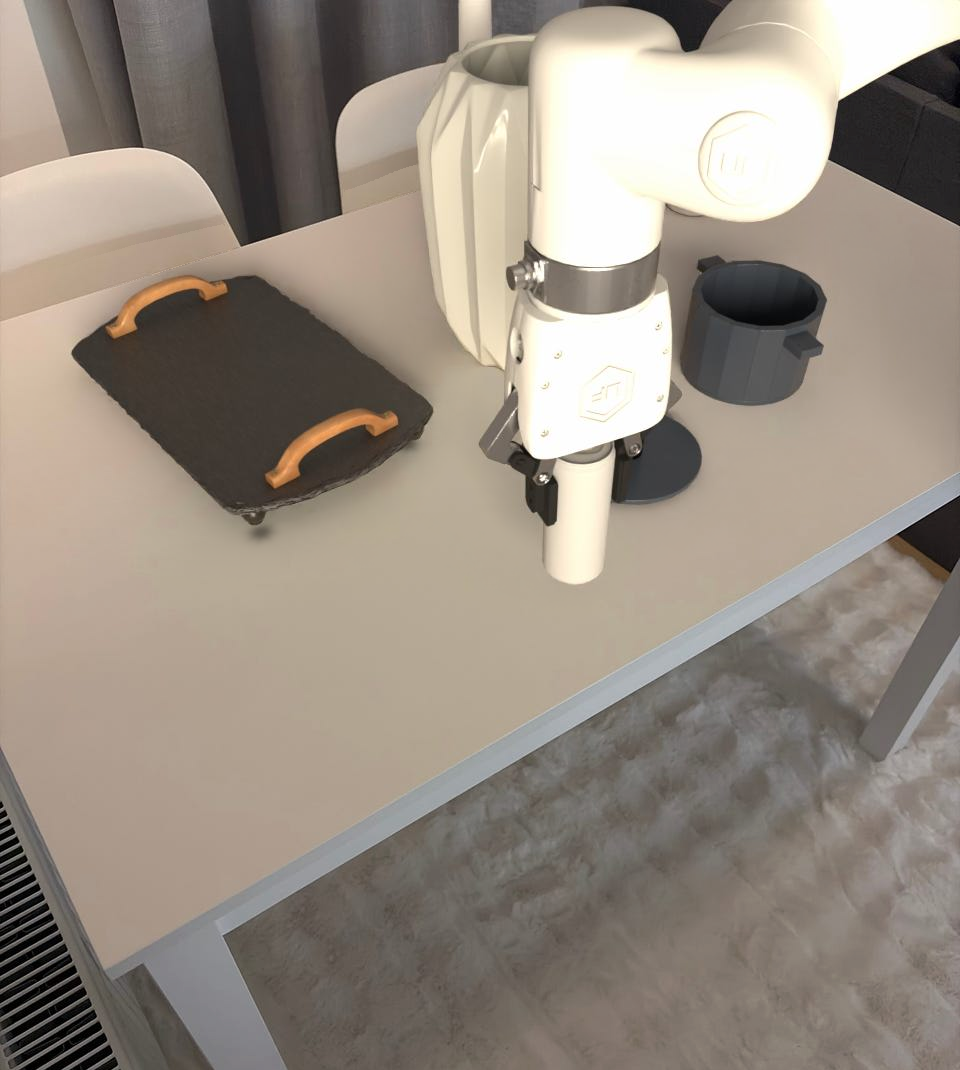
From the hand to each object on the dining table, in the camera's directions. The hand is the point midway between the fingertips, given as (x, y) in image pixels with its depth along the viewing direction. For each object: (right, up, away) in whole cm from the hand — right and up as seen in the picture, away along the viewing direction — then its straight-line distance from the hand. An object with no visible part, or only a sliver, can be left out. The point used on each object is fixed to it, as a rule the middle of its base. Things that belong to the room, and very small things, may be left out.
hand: (577, 500), depth 68 cm
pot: (+20, +18, +30) cm, 40 cm away
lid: (+7, +7, +20) cm, 23 cm away
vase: (-3, +22, +34) cm, 40 cm away
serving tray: (-30, +14, +28) cm, 43 cm away
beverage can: (0, -5, +5) cm, 7 cm away
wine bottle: (-7, +36, +45) cm, 58 cm away
